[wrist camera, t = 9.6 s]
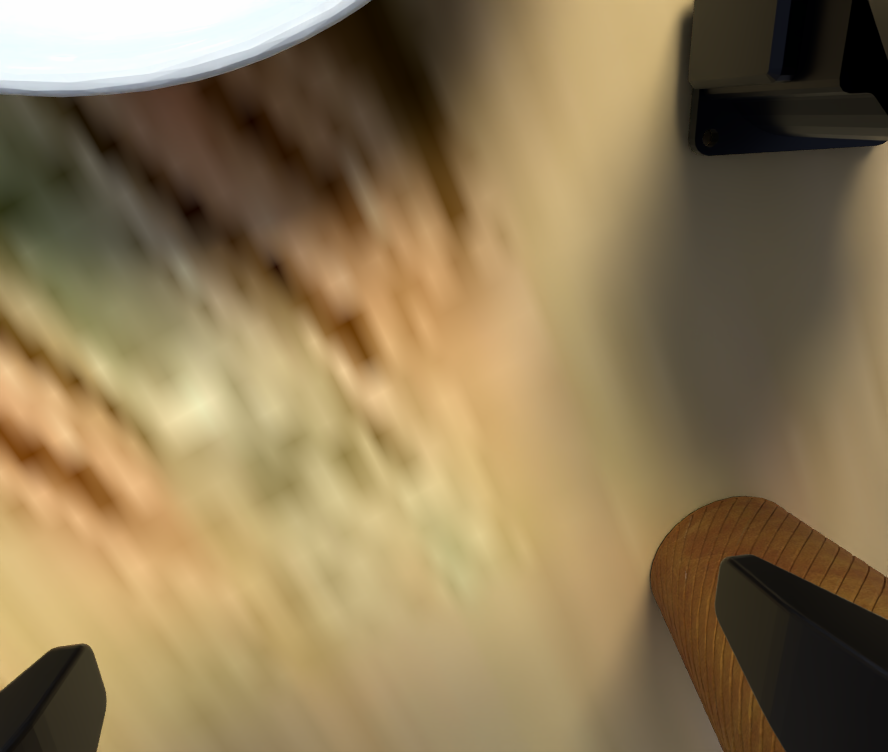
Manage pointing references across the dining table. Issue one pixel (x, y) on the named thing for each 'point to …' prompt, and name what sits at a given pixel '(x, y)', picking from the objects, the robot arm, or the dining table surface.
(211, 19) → the serving bowl
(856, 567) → the disposable coffee cup
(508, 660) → the dining table surface
